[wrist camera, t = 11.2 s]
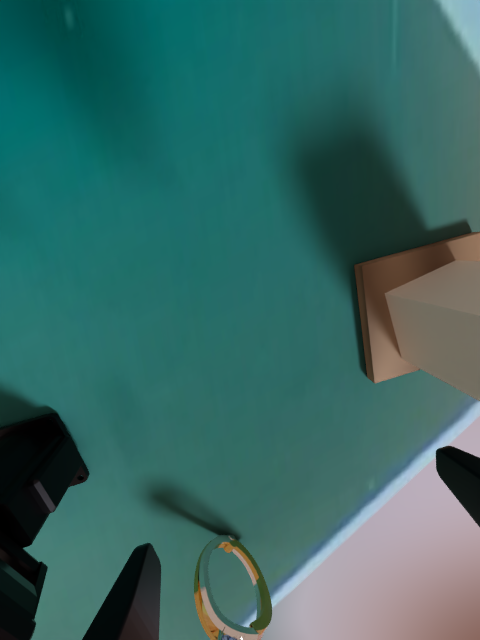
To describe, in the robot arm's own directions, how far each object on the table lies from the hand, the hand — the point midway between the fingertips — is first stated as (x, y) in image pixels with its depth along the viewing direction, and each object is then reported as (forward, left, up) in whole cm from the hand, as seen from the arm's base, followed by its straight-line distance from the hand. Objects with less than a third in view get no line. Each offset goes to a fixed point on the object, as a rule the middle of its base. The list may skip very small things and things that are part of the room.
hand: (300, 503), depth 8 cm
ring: (-6, -19, -13) cm, 24 cm away
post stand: (+15, -1, -13) cm, 20 cm away
